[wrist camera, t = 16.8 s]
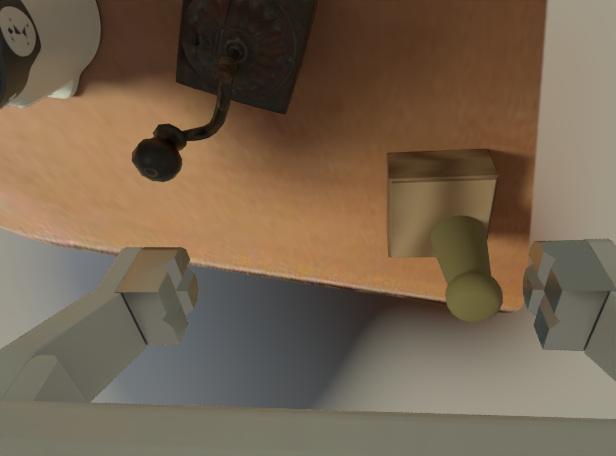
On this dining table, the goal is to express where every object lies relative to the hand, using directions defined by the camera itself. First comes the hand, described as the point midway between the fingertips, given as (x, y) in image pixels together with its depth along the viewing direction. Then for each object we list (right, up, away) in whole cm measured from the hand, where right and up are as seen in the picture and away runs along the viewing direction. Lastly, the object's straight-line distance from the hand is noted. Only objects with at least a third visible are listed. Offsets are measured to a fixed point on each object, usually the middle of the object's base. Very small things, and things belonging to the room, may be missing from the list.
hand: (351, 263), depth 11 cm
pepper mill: (-7, +20, +35) cm, 41 cm away
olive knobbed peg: (+16, 0, +41) cm, 44 cm away
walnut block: (+14, +5, +44) cm, 47 cm away
